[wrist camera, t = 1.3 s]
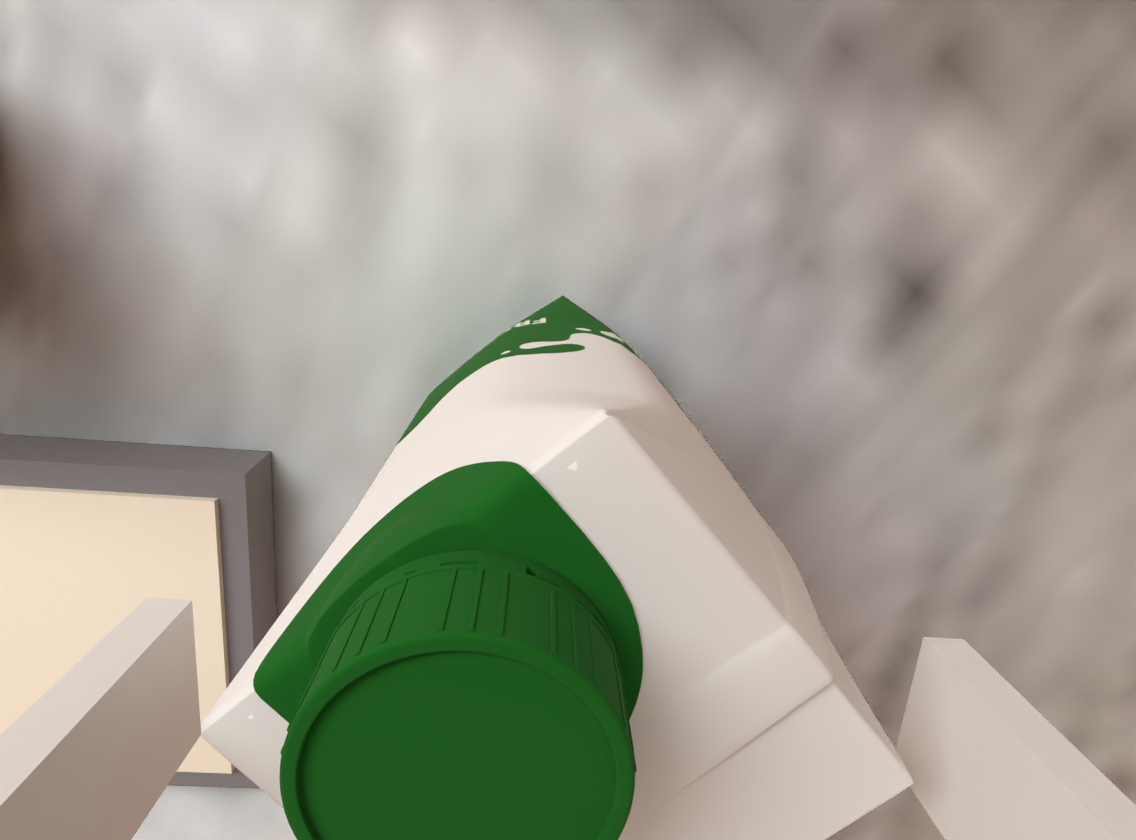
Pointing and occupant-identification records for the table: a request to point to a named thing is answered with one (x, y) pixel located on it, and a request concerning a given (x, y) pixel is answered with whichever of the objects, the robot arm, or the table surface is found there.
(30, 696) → the grey framed square panel
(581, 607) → the soya milk
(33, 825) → the robot arm
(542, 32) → the table surface
